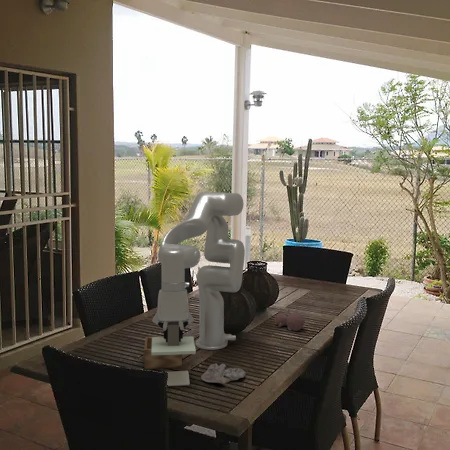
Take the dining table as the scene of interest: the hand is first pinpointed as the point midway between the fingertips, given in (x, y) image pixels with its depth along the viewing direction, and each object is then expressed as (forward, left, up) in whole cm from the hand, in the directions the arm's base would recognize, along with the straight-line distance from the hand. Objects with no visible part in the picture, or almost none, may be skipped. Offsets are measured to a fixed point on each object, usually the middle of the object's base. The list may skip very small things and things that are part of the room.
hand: (173, 340), depth 175 cm
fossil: (-17, 0, -14) cm, 22 cm away
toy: (-51, -48, -14) cm, 72 cm away
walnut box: (+3, -16, -14) cm, 21 cm away
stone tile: (0, 0, -14) cm, 14 cm away
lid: (0, 0, -2) cm, 2 cm away
